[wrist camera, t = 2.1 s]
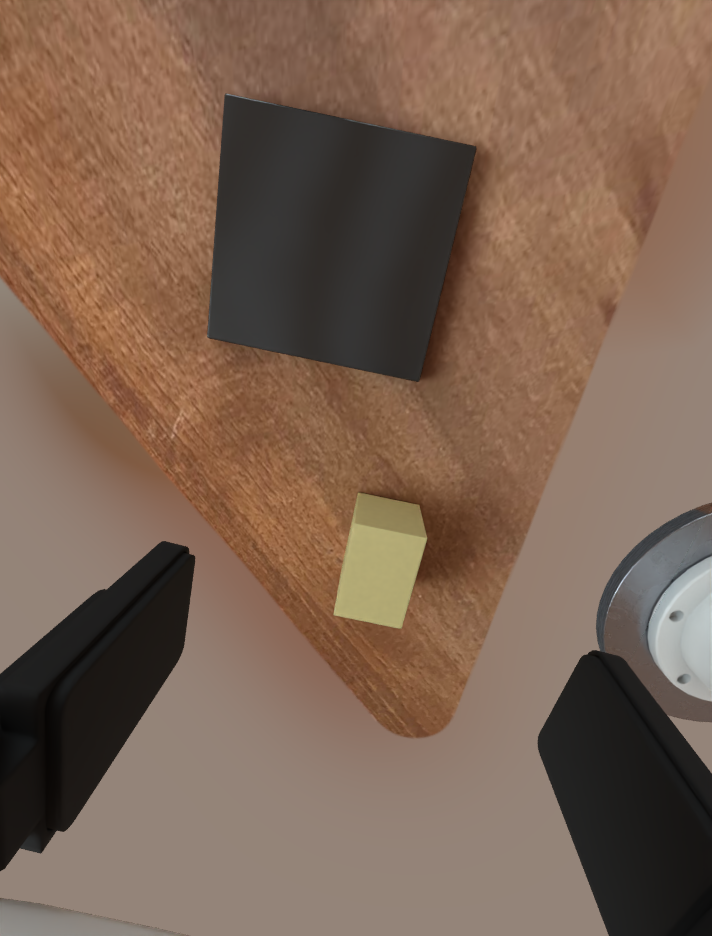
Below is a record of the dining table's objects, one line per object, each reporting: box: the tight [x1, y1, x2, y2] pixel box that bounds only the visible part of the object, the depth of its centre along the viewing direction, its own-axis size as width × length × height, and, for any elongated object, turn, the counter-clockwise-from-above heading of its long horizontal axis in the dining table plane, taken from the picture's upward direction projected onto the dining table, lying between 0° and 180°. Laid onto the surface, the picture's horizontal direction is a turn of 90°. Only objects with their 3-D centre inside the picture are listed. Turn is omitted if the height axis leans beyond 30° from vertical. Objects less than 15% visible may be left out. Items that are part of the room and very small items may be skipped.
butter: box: [334, 493, 427, 629], centre depth 23 cm, size 4×6×4 cm, turn 169°
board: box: [207, 94, 476, 382], centre depth 20 cm, size 12×11×1 cm
